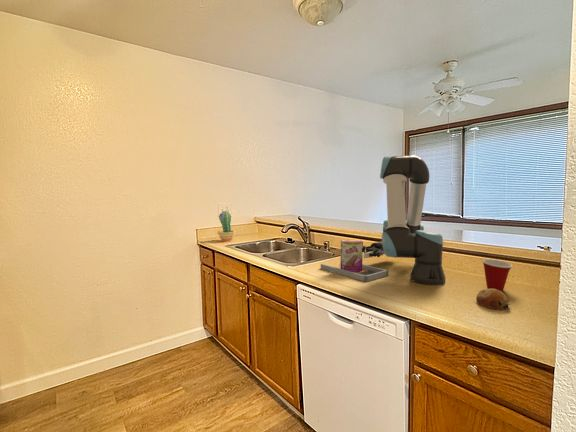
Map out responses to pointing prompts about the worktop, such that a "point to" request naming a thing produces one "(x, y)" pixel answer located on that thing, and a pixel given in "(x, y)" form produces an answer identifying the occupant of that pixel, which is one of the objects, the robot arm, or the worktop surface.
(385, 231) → the robot arm
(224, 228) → the potted cactus
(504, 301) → the bread roll
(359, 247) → the candy bar box
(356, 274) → the channel
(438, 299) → the worktop surface
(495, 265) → the plastic cup
